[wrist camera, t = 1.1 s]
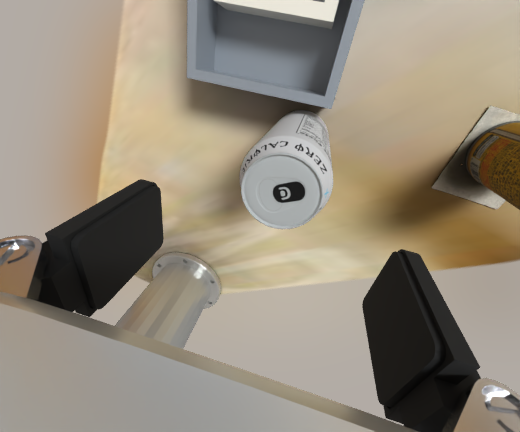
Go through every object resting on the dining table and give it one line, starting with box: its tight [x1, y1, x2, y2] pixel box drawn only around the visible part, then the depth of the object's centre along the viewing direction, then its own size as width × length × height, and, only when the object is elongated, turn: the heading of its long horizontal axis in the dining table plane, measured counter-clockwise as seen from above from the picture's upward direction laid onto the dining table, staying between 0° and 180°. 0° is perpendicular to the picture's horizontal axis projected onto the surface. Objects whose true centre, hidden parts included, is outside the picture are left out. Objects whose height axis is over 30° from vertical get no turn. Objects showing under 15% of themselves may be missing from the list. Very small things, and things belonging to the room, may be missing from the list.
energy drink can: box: [240, 110, 333, 229], centre depth 20 cm, size 6×6×15 cm
